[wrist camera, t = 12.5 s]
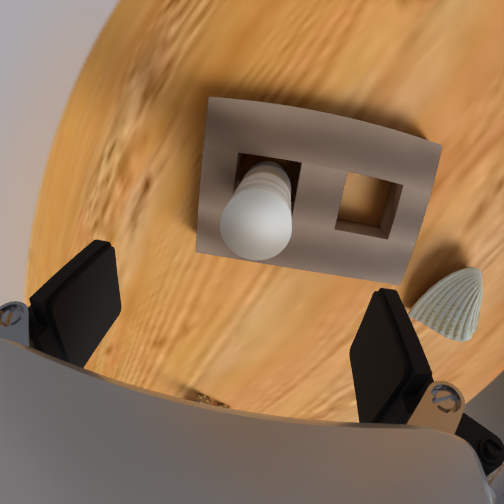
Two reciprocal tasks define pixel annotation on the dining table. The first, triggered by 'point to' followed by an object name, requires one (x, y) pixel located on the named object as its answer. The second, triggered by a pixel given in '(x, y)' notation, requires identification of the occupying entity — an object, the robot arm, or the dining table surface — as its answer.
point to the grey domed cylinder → (259, 213)
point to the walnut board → (319, 185)
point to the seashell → (452, 305)
